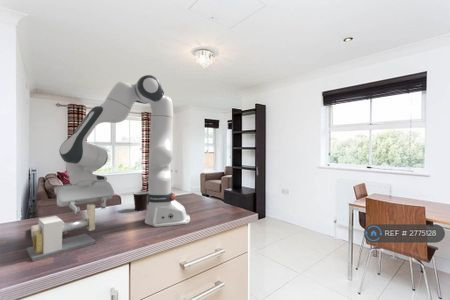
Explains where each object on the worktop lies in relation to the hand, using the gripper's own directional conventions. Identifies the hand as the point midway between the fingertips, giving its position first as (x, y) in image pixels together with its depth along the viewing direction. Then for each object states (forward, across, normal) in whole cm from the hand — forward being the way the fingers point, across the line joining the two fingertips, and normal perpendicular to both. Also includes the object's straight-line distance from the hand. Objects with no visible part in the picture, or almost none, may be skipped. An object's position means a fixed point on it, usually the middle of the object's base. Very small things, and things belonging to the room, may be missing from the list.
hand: (91, 210), depth 88 cm
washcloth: (-7, -9, +24) cm, 27 cm away
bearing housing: (+8, -9, +9) cm, 15 cm away
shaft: (+5, -7, +6) cm, 10 cm away
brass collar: (+7, -16, +8) cm, 20 cm away
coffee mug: (-10, +35, +27) cm, 45 cm away
